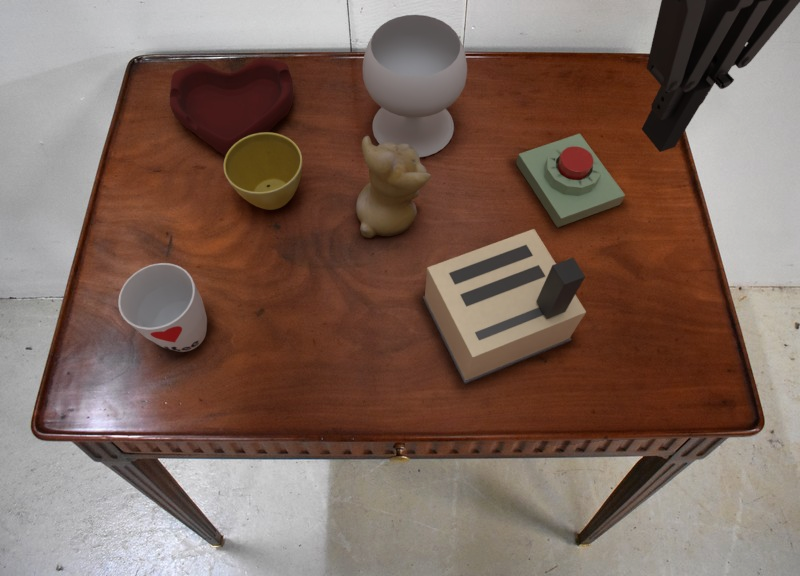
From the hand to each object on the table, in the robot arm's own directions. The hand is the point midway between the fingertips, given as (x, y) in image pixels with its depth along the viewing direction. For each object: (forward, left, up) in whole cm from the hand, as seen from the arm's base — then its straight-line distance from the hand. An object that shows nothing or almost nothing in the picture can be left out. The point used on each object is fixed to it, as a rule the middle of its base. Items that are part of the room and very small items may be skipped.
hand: (658, 137), depth 49 cm
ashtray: (+45, +31, -30) cm, 62 cm away
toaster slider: (-3, +7, -21) cm, 22 cm away
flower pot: (+30, +30, -30) cm, 52 cm away
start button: (+16, -9, -26) cm, 32 cm away
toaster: (+1, +10, -29) cm, 31 cm away
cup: (+14, +46, -30) cm, 56 cm away
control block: (+16, -9, -29) cm, 35 cm away
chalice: (+34, +7, -30) cm, 46 cm away
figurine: (+20, +16, -30) cm, 39 cm away
